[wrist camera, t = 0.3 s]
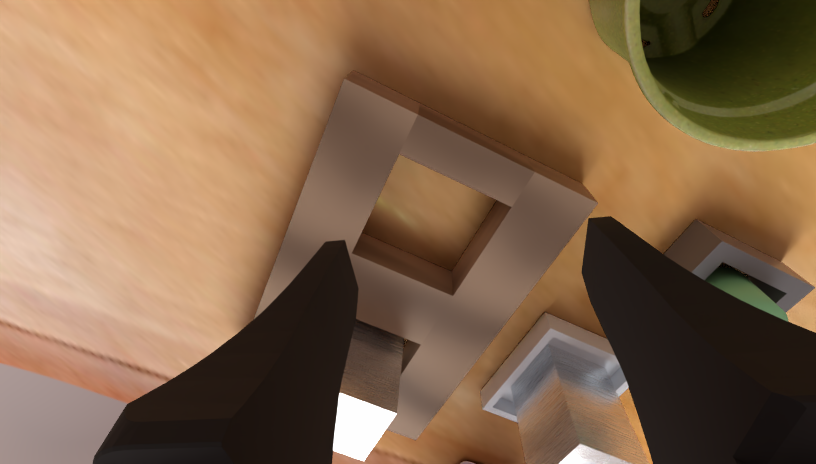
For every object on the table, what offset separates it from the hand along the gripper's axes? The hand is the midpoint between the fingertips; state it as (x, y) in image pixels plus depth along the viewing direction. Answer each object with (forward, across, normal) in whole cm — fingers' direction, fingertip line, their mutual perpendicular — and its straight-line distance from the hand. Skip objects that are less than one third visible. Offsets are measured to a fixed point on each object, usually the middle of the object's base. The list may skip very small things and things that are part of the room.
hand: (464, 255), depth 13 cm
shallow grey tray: (+8, -6, +17) cm, 20 cm away
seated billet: (+9, +7, +13) cm, 17 cm away
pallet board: (+9, +4, +9) cm, 13 cm away
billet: (+8, -6, +17) cm, 20 cm away
